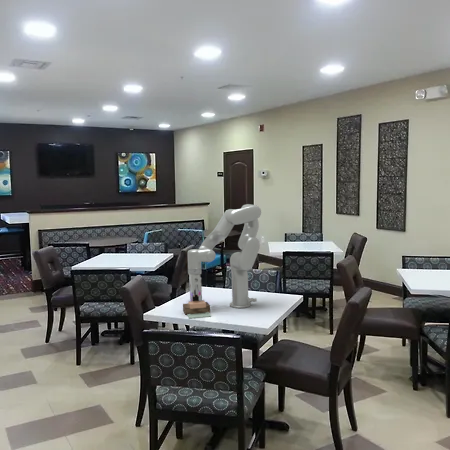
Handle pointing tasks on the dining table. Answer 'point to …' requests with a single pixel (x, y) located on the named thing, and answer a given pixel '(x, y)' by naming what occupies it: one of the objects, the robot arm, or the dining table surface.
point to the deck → (195, 309)
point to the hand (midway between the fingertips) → (195, 303)
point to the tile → (197, 304)
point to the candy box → (192, 292)
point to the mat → (199, 315)
